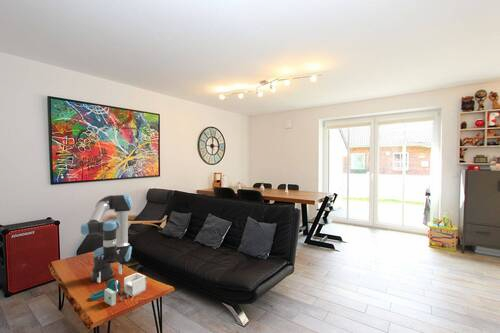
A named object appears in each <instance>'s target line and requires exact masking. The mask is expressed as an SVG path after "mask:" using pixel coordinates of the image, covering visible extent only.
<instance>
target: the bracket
mask: <svg viewBox="0 0 500 333" xmlns="http://www.w3.org/2000/svg"><path fill="white" fill-rule="evenodd" d="M116 280H117V279H115V278H109V279H108V281H107V282H106V288H104V289H101V290H99V291H97V292H94V293H91V294H90V295H89V296H90V297H89V300H90V301H92V302H94V301H99V300H101V299H104V290H105V289H107V288H109V289H111V290H113V291H115V290H116V286H115V282H116ZM117 282H118V286H117V290H118V292H120V291H121V289H122V288H121V284H122V283H121V281H119V280H117Z"/></svg>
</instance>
